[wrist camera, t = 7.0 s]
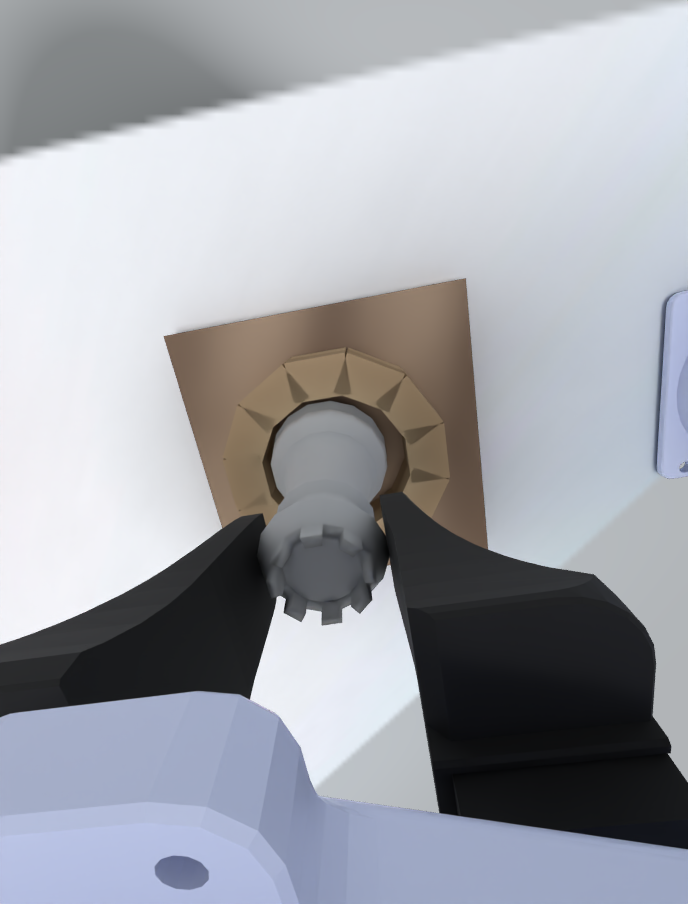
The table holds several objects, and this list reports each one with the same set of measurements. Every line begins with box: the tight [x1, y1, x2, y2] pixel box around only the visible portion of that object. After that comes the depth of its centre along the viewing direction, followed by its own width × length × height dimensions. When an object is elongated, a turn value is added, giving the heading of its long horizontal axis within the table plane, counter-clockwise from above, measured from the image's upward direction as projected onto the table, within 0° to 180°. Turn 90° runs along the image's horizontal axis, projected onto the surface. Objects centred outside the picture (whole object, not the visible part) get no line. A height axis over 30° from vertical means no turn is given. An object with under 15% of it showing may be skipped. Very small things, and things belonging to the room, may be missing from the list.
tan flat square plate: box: [164, 278, 488, 565], centre depth 18 cm, size 12×12×3 cm
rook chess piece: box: [257, 401, 390, 625], centre depth 13 cm, size 4×4×8 cm
